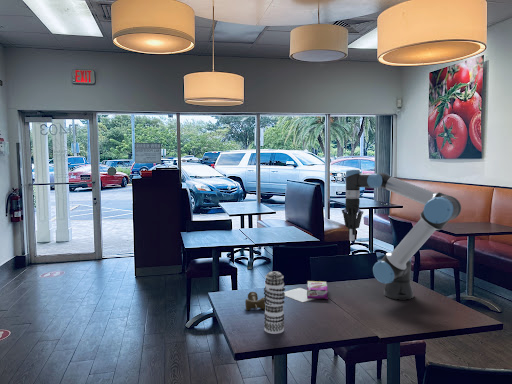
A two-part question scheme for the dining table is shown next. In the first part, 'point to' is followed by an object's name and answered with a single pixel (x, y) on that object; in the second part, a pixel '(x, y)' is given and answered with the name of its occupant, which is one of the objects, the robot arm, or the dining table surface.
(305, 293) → the mat
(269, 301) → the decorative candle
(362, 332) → the dining table surface
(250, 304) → the kendama
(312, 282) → the candy bar box
